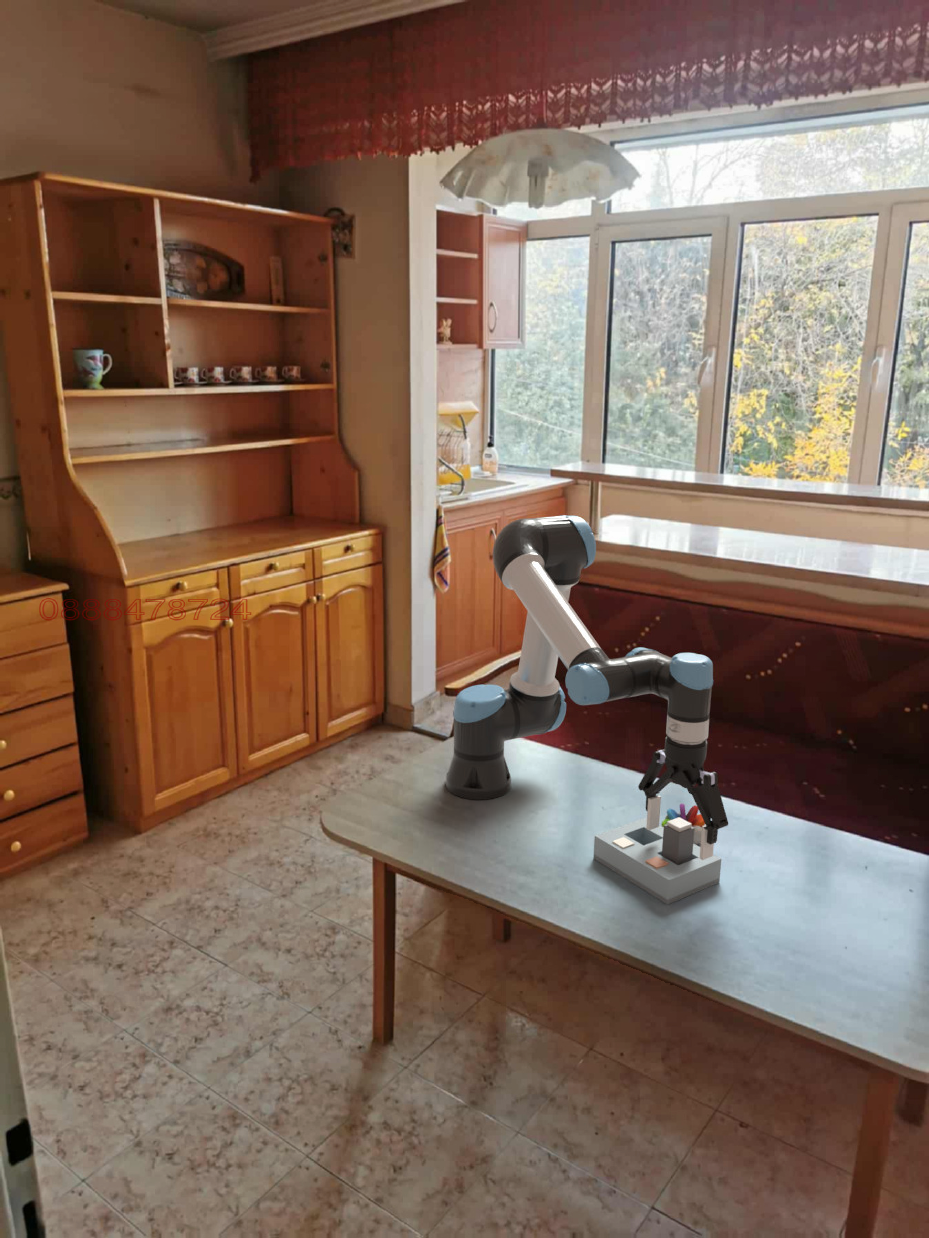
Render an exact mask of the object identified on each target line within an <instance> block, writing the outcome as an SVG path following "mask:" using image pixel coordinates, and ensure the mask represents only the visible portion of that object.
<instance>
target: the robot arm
mask: <svg viewBox="0 0 929 1238" xmlns="http://www.w3.org/2000/svg"><path fill="white" fill-rule="evenodd" d="M596 554H597V543H596V539H595V534H594V533H593V529H592V528H591V526H590V525H589V523H588V522H587V521H586V520H585V519H584V518H582V517H580V516H577V515H565V514H560V515H557V516H556V515H554V516H543V517H542V516H541V517H533V518H532V517H531V518H530V517H529V518H525V517H524V518H519V519H516V520H512V521H511V522H510V523H508V524H507V525H505V526H504V527H503V528H502V529H501V530H500V532H499V533H498V535H497V536H496V539H495V540H494V544H493V547H492V561H493V566H494V570H495V573H496V574H497V576H498V578H499V579H500V582H502V585H504V587H506V589H508V590H511V591H514V593H515V594H516V596H517V597H518V599H519V600H520V602H521V603H522V605H523V606H524V608H525V609H526V611H527V614H526V620H525V625H524V630H523V631H524V632H523V639H522V645H521V650H520V651H521V652H520V657H519V664H518V670H517V671H515V672H514V673H512V674H511V676H510V677H509V678H510V679H509V683H508V684H509V685H508V688H507V689H504V688H503V687H502V686H500V685H496V684H492V683H491V684H490V683H488V684H477V685H472V686H468V687H466V688H464V689H463V690H461V691H459V693H457V695H456V696H455V699H454V705H453V713H452V715H453V756H452V757H451V762H450V765H449V768H448V771H447V773H446V775H445V788H446V789H447V791H448V792H450V793H451V794H452V795H455V796H457V797H460V798H463V799H469V800H470V799H471V800H491V799H495V798H499V797H502V796H504V795H505V794H507V793H508V792H509V791H510V790H511V788H512V787H511V786H512V785H511V783H512V778H511V773H510V771H509V767H508V764H507V762H506V758H505V742H506V741H510V740H516V739H520V738H526V737H530V736H531V737H532V736H535V735H536V736H537V735H544V734H546V733H547V732H552V731H555V730H557V729H558V728H559V727H560V726H561V724H562V723H563V721H564V719H565V716H566V711H567V702H565V699H566V695H565V693H564V691H563V689H562V687H561V686H560V682H559V680H557V678H556V677H555V676H556V672H557V666H558V661H559V659H560V661H561V662H562V664H563V665H564V667H565V668H566V669H567V672H566V675H565V679H564V681H565V682H564V683H565V687H566V689H567V694H568V697H569V699H570V700H571V701H572V702H573V703H575V704H577V705H579V706H589V705H590V706H591V705H601V704H603V703H605V702H606V703H607V702H612V701H616V700H620V699H627V698H632V697H637V696H642V695H648V694H653V695H656V696H658V697H660V698H662V699H665V700H667V712H666V714H667V715H666V730H665V734H666V737H665V740H664V749H663V748H662V749H660V750H657V751H653V753H652V759H651V762H650V764H649V765H648V768H647V769H646V772H645V773H644V775H643V777H642V778H641V780H640V782H639V784H638V786H637V787H638V790H640V791H642V792H644V795H645V811H646V812H647V813H646V818H647V826H646V829H647V830H652V829H655V828H657V827H659V825H660V816H661V803H662V801H661V800H662V796H661V795H659V794H661V791H662V790H663V789H664V788H665V787H666V786H668V785H669V784H670V783H671V782H672V783H674V784H675V785H680V786H681V787H682V788H683V789H686V790H687V792H688V793H689V794H690V795H691V796H692V798H693V800H694V803H695V805H696V806H697V807H698V812H699V814H701V816H702V818H703V820H704V822H705V825H704V826H702V834H701V843H700V846H699V847H700V859H701V860H704V859H707V858H709V857H712V856H713V854H714V845H715V844H716V843H717V841H718V833H719V830H720V829H722V828H725V827H728V826H729V820H728V817H727V814H726V813H727V812H726V810H725V806H724V802H723V799H722V796H721V792H720V789H719V785H718V783H719V782H718V773H717V772H715V771H712V772H708V771H705V768H704V763H705V761H706V759H707V752H708V740H707V739H708V738H709V726H710V711H711V703H712V702H711V700H712V699H711V698H712V691H713V689H712V688H713V685H714V679H713V678H714V676H713V675H714V674H713V672H714V666H713V665H714V664H713V663H714V662H713V661H712V660H711V659H710V657H708V656H706V655H704V654H698V653H695V652H679V653H677V654H675V655H673V656H671V657H670V656H668V655H665V654H663V653H660V651H657V650H655V649H651V648H646V647H641V646H640V647H635V648H633V649H632V650H631V651H629V652H627V654H626V655H625V656H622V657H618V658H609V656H608V655H607V654H606V653H605V651H604V650H603V649H602V648H601V646H600V645H599V643H598V642H597V640H595V638H594V636H593V635H592V634H591V632H590V631H589V629H588V628H587V626H586V625H585V624H584V623H583V621H582V619H581V618H580V617H579V616H578V614H577V613H576V611H575V610H574V608H573V607H572V605H571V604H570V603H569V601H570V594H571V590H572V589H571V588H572V587H573V586H575V585H577V584H578V583H579V581H580V578H581V572H582V569H587V568H588V567H590V566H591V565H592V564H593V563H594V562H595V558H596V556H597V555H596ZM664 765H665V766H666V767H665V768H666V771H664V772H663V773H662V774H661V776H660V777H659V778H658V775H659V774H660V773H661V771H662V768H663V767H664ZM657 778H658V779H657ZM696 785H697V786H696ZM695 786H696V787H695Z"/></svg>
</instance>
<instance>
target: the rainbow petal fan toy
mask: <svg viewBox="0 0 929 1238" xmlns="http://www.w3.org/2000/svg"><path fill="white" fill-rule="evenodd" d="M698 813H699V809H698V807H697V805H696V804H695V805H693V806H692V807H691V808H690V809H689V810H688V812H687V813H686V805H685V804H684V803H679V812H677V811H676V810H675V809H673V808H668V809H667V810H666V816H665V818H664V819H663V821H661V826H662V827H664V825H665V824H667V821H670V820H673V819H675V818H678V817H680V818H682V819H684V820H686V821H687V822H689V823H691V824H692V827H694V828H695V829H694V841H693V844H695V845H701V834H702V826H704V825H706V824H705V822H704V820H703V818H702V816H701V813H699V814H698Z"/></svg>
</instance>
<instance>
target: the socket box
mask: <svg viewBox="0 0 929 1238" xmlns="http://www.w3.org/2000/svg"><path fill="white" fill-rule="evenodd" d="M646 826H647V817H644V818H640V819H638V820H634V821H631V822H629V823H626V824H623V825H620V826H619V827H614V828H612V829H609V830H607V831H604V832H600V833H599V834H595V835H594V840H593V841H594V842H593V859H594V860H595V861H598V862H599V863H601V864H602V865H604V866H605V867H606V868H609V869H610V870H612V871H613V872H615V873H616V874H618V875H619V876H621V877H622V878H624V879H626V880H627V881H628V882H630V883H632V884H633V885H635V886H637V887H638V888H640V889H642V890H643V891H645V892H647V893H648V894H650V895H651V896H653V897H655V899H658V900H659V901H661V902H662V903H664V904H665V905H670V904H672V903H674V902H677V901H679V900H681V899H684V898H686V897H688V896H691V895H693V894H696V893H697V892H700V891H702V890H704V889H707V888H709V887H711V886H715V885H717V884H719V883H720V880H721V879H720V878H721V867H722V857H719V856H717V855H715V854H714V853H713V856H712V857H709V858H707V859H704V860H701V859H700V846H698V844H693V854H692V860H691V861H688V862H686V863H683V864H681V865H676V864H675V863H673V862H671V861H670V860H668V859H666V858H664V857H663V856H662V844H663V830H664V827H662V825H660V824H659V827H657V828H655V829H652V830H647V829H646Z"/></svg>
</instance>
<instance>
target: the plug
mask: <svg viewBox="0 0 929 1238" xmlns="http://www.w3.org/2000/svg"><path fill="white" fill-rule="evenodd" d="M694 829H695V828H694V827H692V824H691V823H689V822H687V821H686V820H684V819H682V818H680V817H678V818H675V819H673V820H670V821H667V824H665V825H664V830H663V844H662V856H663V857H664V858H666V859H668V860H670V861H671V862H673V863H675V864H676V865H681V864H683V863H686V862H688V861H691V860H692V854H693V841H694Z"/></svg>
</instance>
